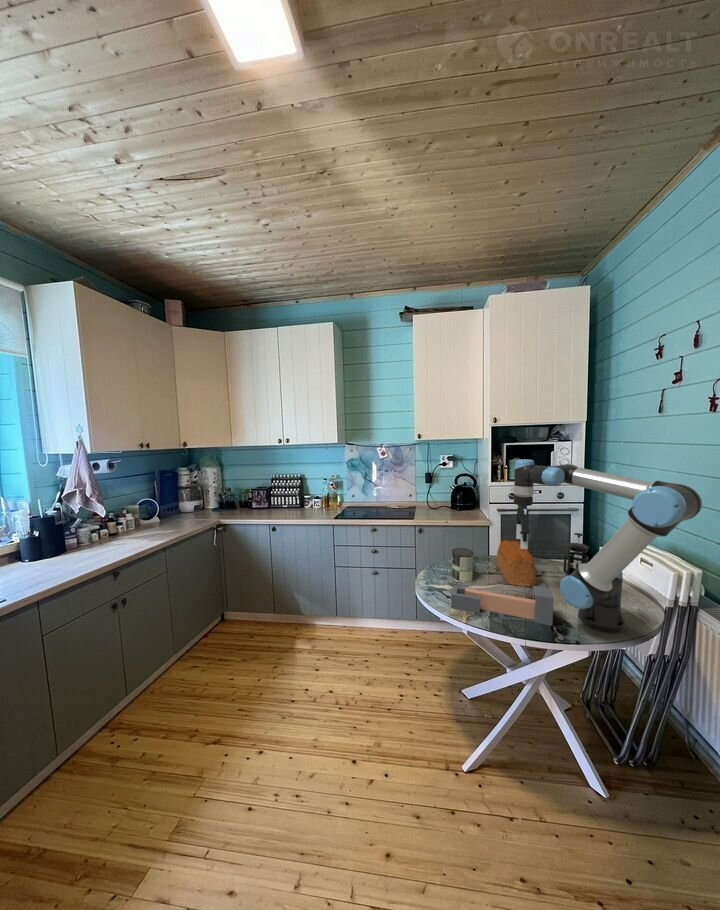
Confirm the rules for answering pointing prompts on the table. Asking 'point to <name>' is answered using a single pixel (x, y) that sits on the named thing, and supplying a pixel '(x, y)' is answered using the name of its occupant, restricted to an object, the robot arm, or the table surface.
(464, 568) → the coffee can
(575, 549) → the french press
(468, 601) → the far end cap
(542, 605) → the cap
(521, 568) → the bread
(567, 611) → the table surface
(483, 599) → the slat
